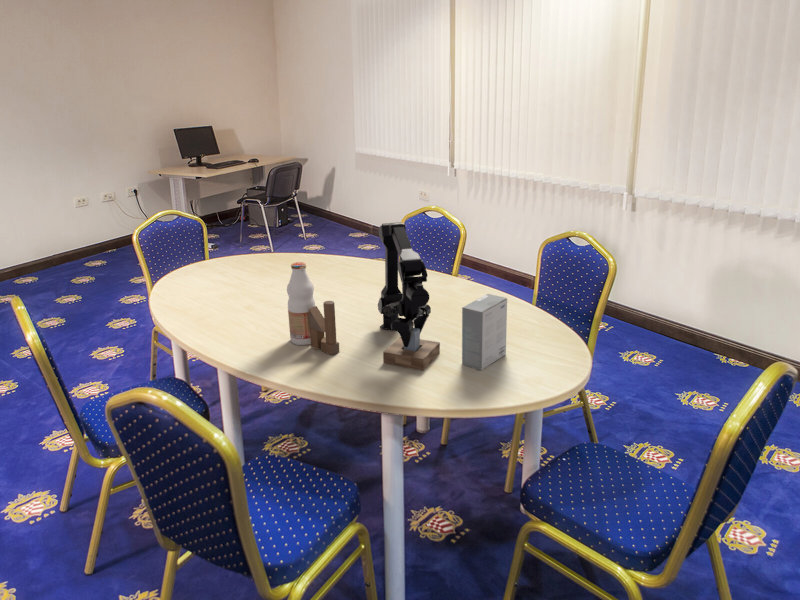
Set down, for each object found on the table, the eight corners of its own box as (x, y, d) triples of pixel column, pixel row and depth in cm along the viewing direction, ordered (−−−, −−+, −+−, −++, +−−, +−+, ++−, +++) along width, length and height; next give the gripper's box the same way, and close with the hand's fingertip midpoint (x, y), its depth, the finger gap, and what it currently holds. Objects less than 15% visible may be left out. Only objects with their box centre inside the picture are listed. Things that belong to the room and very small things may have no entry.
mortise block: (401, 346, 215) (401, 335, 214) (439, 353, 210) (439, 342, 208) (383, 363, 203) (383, 351, 202) (423, 370, 198) (423, 359, 196)
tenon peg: (408, 352, 209) (408, 326, 206) (419, 354, 207) (419, 328, 204) (403, 356, 205) (403, 331, 202) (415, 358, 204) (414, 333, 201)
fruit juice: (291, 347, 217) (285, 269, 207) (289, 336, 225) (283, 261, 216) (319, 343, 219) (314, 266, 209) (315, 333, 227) (310, 259, 218)
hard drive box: (486, 348, 213) (488, 293, 206) (506, 354, 208) (509, 297, 201) (460, 364, 201) (461, 306, 195) (481, 371, 197) (482, 311, 190)
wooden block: (318, 343, 219) (315, 295, 213) (339, 352, 212) (337, 302, 206) (310, 347, 216) (307, 297, 210) (331, 355, 209) (328, 305, 203)
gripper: (400, 284, 210) (401, 327, 216) (375, 302, 194) (376, 348, 200) (431, 288, 206) (431, 332, 211) (408, 307, 190) (408, 354, 195)
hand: (411, 341), depth 204 cm, fingers open, 9 cm apart
